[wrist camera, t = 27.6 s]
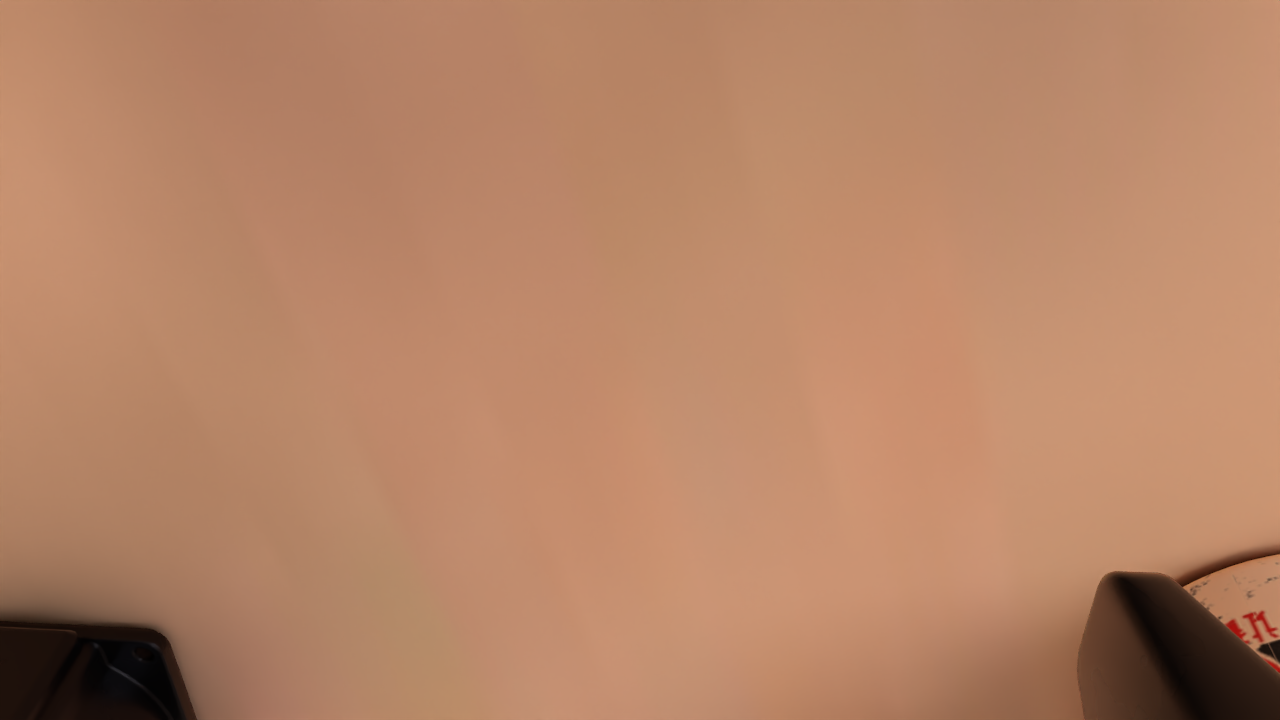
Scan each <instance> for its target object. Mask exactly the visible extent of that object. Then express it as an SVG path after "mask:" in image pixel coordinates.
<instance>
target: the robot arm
mask: <svg viewBox="0 0 1280 720" xmlns="http://www.w3.org/2000/svg"><path fill="white" fill-rule="evenodd" d="M1077 672H1078V683H1079V689H1080V695H1081V701H1082V706H1083V712H1084V718H1085V720H1280V673H1279V672H1278V671H1277V670H1275V669H1274V668H1273V667H1272V666H1271V665H1270V664H1269V663H1267V662H1266V661H1265V660H1264V659H1263V658H1262V657H1261V656H1260V655H1258V654H1257V653H1256V652H1255V651H1254V650H1253V649H1252V648H1251V647H1249V646H1248V645H1247V644H1246V643H1245V642H1244V641H1243V640H1242V639H1240V638H1239V637H1238V636H1237V635H1236V634H1235V633H1234V632H1232V631H1231V630H1230V629H1229V628H1228V627H1227V626H1226V625H1225V624H1223V623H1222V622H1221V621H1220V620H1219V619H1218V618H1217V617H1216V616H1214V615H1213V614H1212V613H1211V612H1210V611H1209V610H1208V609H1207V608H1205V607H1204V606H1203V605H1202V604H1201V603H1200V602H1199V601H1197V600H1196V599H1195V598H1194V597H1193V596H1192V595H1191V594H1190V593H1188V592H1187V591H1186V590H1185V589H1184V588H1183V587H1182V586H1181V585H1179V584H1178V583H1177V582H1176V581H1175V580H1173V579H1172V578H1170V577H1168V576H1166V575H1164V574H1160V573H1147V572H1121V571H1114V572H1111V573H1108V574H1106V575H1105V576H1104V577H1103V578H1102V580H1101V581H1100V583H1099V585H1098V588H1097V591H1096V594H1095V598H1094V601H1093V604H1092V608H1091V611H1090V614H1089V618H1088V621H1087V624H1086V628H1085V631H1084V634H1083V638H1082V641H1081V644H1080V648H1079V652H1078V663H1077ZM0 720H197V718H196V716H195V713H194V710H193V707H192V704H191V702H190V699H189V696H188V693H187V690H186V687H185V685H184V682H183V679H182V676H181V673H180V671H179V668H178V665H177V662H176V659H175V656H174V654H173V651H172V648H171V645H170V643H169V641H168V640H167V638H166V637H165V636H163V635H162V634H161V633H159V632H156V631H154V630H150V629H141V628H121V627H101V626H82V625H62V624H42V623H22V622H2V621H0Z"/></svg>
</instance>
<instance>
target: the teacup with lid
mask: <svg viewBox="0 0 1280 720" xmlns="http://www.w3.org/2000/svg"><path fill="white" fill-rule="evenodd" d="M1183 588H1184V589H1185V590H1186V591H1187V592H1188V593H1190V594H1191V595H1192V596H1193V597H1194V598H1195V599H1196V600H1197V601H1199V602H1200V603H1201V604H1202V605H1203V606H1204V607H1205V608H1207V609H1208V610H1209V611H1210V612H1211V613H1212V614H1213V615H1214V616H1216V617H1217V618H1218V619H1219V620H1220V621H1221V622H1222V623H1223V624H1225V625H1226V626H1227V627H1228V628H1229V629H1230V630H1231V631H1232V632H1234V633H1235V634H1236V635H1237V636H1238V637H1239V638H1240V639H1242V640H1243V641H1244V642H1245V643H1246V644H1247V645H1248V646H1249V647H1251V648H1252V649H1253V650H1254V651H1255V652H1256V653H1257V654H1258V655H1260V656H1261V657H1262V658H1263V659H1264V660H1265V661H1266V662H1267V663H1269V664H1270V665H1271V666H1272V667H1273V668H1274V669H1275V670H1277V671H1278V672H1279V673H1280V554H1278V555H1273V556H1267V557H1263V558H1259V559H1255V560H1251V561H1247V562H1244V563H1240V564H1237V565H1234V566H1230V567H1228V568H1225V569H1222V570H1220V571H1217V572H1214V573H1211V574H1209V575H1207V576H1205V577H1202V578H1200V579H1198V580H1196V581H1194V582H1192V583H1190V584H1188V585H1186V586H1184V587H1183Z"/></svg>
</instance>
